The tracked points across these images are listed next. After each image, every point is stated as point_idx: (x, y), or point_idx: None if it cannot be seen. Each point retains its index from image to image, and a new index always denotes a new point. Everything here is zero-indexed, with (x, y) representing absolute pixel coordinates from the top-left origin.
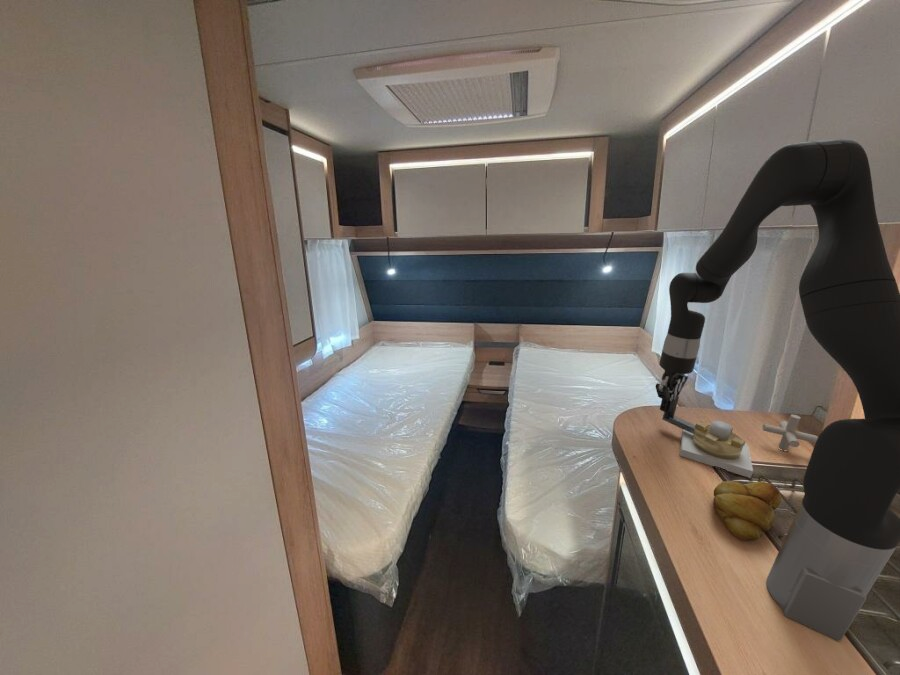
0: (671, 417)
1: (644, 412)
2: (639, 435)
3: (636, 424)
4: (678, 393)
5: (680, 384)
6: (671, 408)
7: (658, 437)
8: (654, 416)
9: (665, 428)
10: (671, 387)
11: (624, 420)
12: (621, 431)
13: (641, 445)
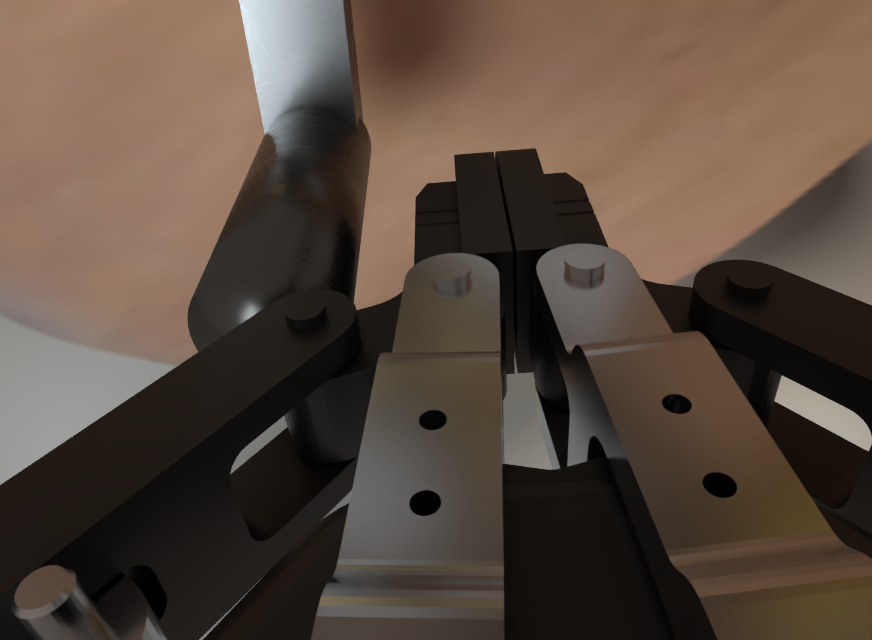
0: (339, 114)
1: None
2: (640, 153)
3: None
4: (323, 318)
5: (451, 518)
6: (348, 189)
7: (525, 44)
8: None
9: None
10: (845, 522)
11: None
12: (701, 257)
13: (791, 50)
